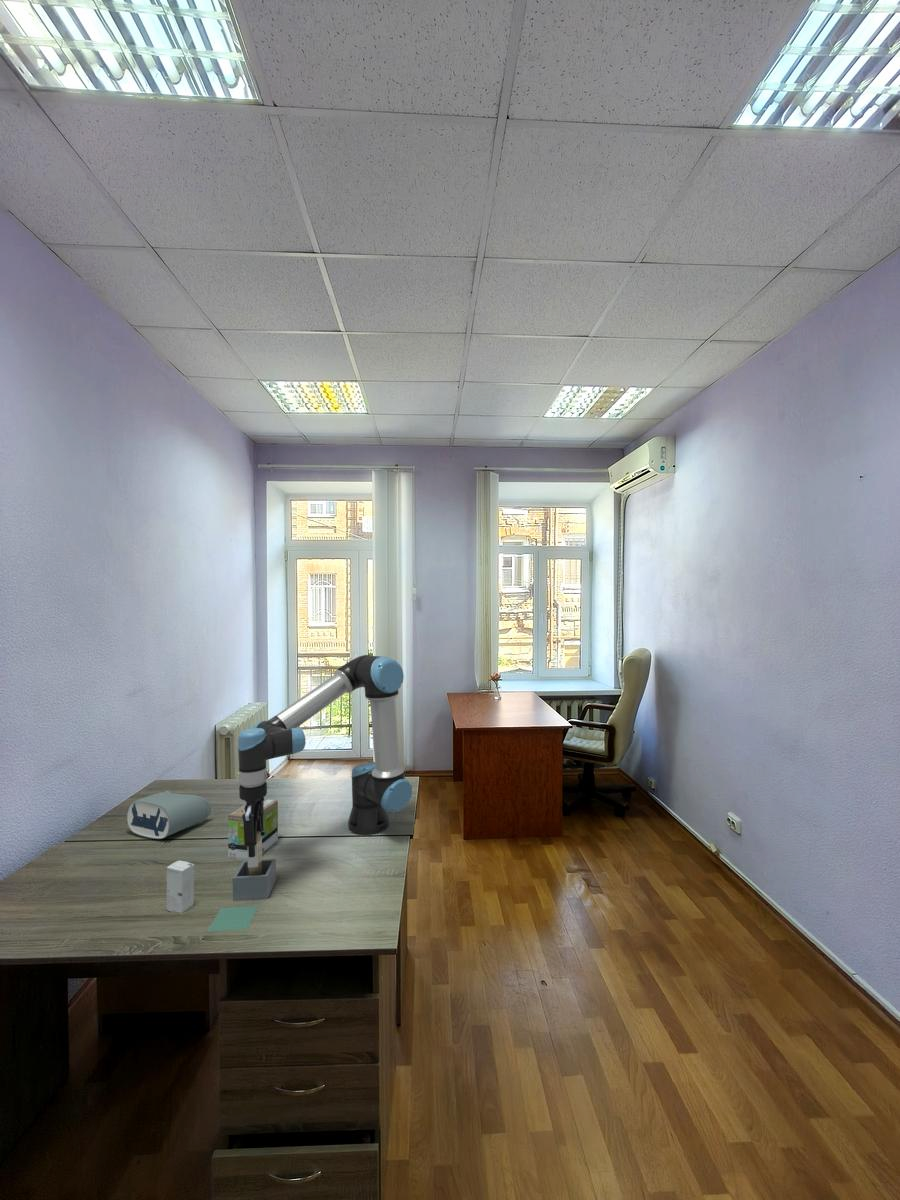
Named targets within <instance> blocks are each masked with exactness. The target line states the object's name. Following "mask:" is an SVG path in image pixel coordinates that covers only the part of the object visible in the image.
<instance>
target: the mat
mask: <svg viewBox="0 0 900 1200" xmlns="http://www.w3.org/2000/svg"><path fill="white" fill-rule="evenodd" d="M258 907H259V905H250V906H236V907H231V906H230V907H221V908H220V909H219V911H218V912H217V914H216V916H215V917H214V919H213V920H212V922H211V924H210V926H209V928H207V929H208V930H207V933H211V932H221V931H222V932H223V931H237V930H248V928H249V926H250V924H251V922H252V920H253V918H254V915H255V914H256V912H257V910H258Z"/></svg>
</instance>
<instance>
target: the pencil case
mask: <svg viewBox="0 0 900 1200" xmlns="http://www.w3.org/2000/svg"><path fill="white" fill-rule="evenodd" d="M211 812H212V807H211V804H210V802H209V801H208V800H207V799H206V798H205V797H204V796H201V795H195V794H186V793H185V794H184V793H183V794H180V793H172V792H171V791H170V790H166V791H161V792H158V793H155V794H151V795H148V796H145V797H142V798H139V799H136V800H134V801H131V802H130V803H129V805H128V806H127V808H126V815H125V816H126V817H125V820H126V825H127V827H128V829H129V830H130V831H131V832H132V834H134V835H136V836H140V837H144V838H148V839H153V840H154V839H155V840H162V839H165V838H167V837H169V836H171V835H174V834H177V833H178V832H180V831H184V830H186V829H189V828H191V827H193V826H196V825H198V824H200V823H202V822H203V821H205V820H207V819H208V818H209V816H210V814H211Z"/></svg>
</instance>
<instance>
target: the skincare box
mask: <svg viewBox="0 0 900 1200" xmlns="http://www.w3.org/2000/svg"><path fill="white" fill-rule="evenodd" d="M194 901H195V864H194V863H191V862H188V861H183V860H177V861H175V862H173V863H171V864H170V865H168V866H167V867H166V911H167V912H171V913H173V912H176V913H181V914H182V913H184V912H185V911H187V910H188V909H190V908H192V907H193V906H194V904H195V902H194Z"/></svg>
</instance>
